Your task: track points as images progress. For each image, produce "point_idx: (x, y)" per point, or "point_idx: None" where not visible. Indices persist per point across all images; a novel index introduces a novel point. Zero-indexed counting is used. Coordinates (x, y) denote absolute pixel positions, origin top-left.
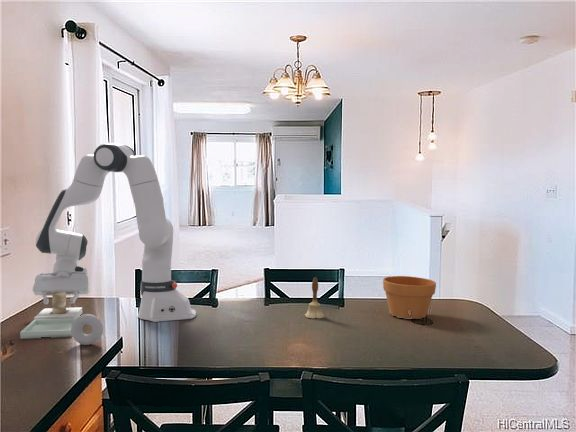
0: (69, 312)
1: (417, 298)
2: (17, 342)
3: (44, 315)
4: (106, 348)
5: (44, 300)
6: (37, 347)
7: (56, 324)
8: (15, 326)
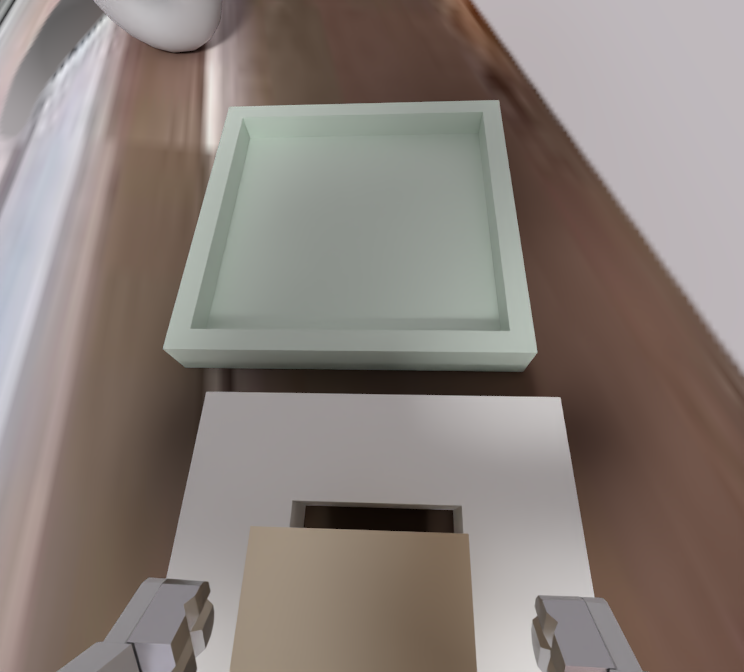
0: None
1: None
2: (480, 93)
3: (491, 464)
4: None
5: (598, 618)
6: (370, 41)
7: (349, 315)
8: (661, 374)
